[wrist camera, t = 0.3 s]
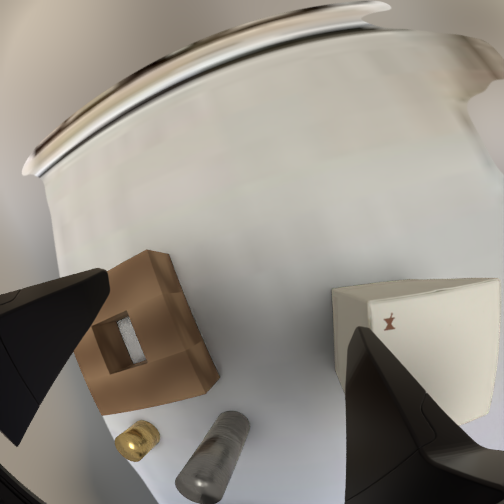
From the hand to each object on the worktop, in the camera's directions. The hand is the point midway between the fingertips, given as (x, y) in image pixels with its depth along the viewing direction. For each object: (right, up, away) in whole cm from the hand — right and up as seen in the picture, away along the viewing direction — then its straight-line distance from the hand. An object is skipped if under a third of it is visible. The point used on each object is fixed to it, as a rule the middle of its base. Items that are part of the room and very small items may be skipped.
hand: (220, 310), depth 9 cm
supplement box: (+11, -4, +13) cm, 17 cm away
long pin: (-1, -14, +13) cm, 19 cm away
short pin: (-10, -17, +15) cm, 25 cm away
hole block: (-10, -6, +16) cm, 19 cm away
